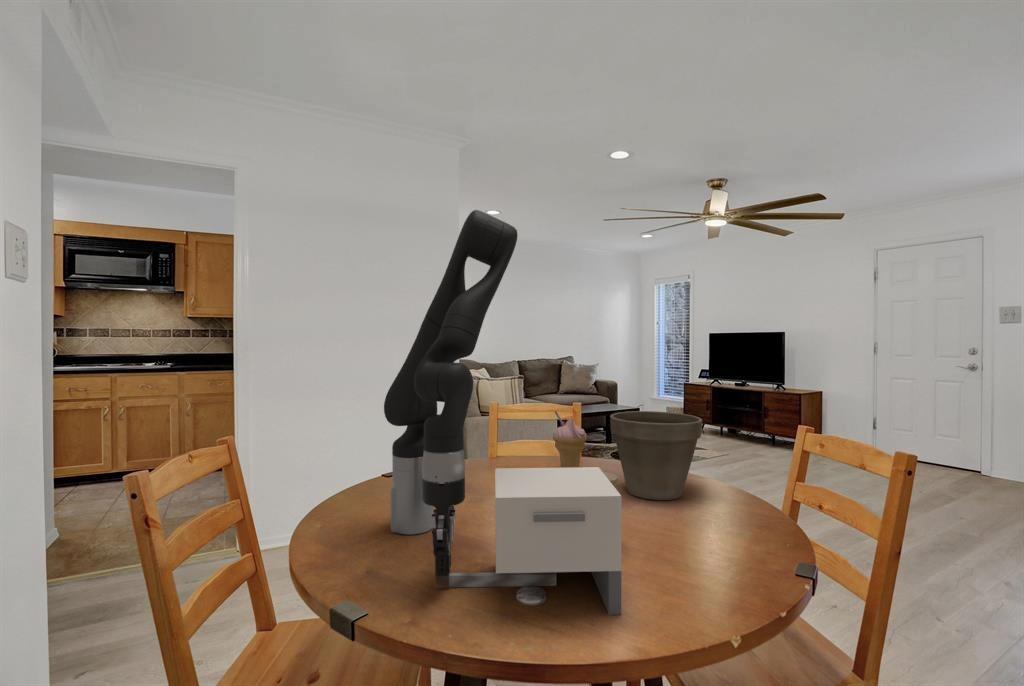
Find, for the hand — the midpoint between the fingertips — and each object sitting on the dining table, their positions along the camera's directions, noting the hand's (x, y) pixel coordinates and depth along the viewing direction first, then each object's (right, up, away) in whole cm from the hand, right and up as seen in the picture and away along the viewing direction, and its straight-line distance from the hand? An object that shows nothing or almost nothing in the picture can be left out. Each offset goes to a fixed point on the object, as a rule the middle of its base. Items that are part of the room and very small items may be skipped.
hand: (443, 571), depth 93 cm
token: (+15, -3, -4) cm, 16 cm away
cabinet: (+19, -3, -1) cm, 19 cm away
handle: (+32, -2, +16) cm, 36 cm away
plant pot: (+52, -2, +54) cm, 75 cm away
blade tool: (+9, -3, 0) cm, 10 cm away
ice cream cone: (+31, -1, +74) cm, 81 cm away
